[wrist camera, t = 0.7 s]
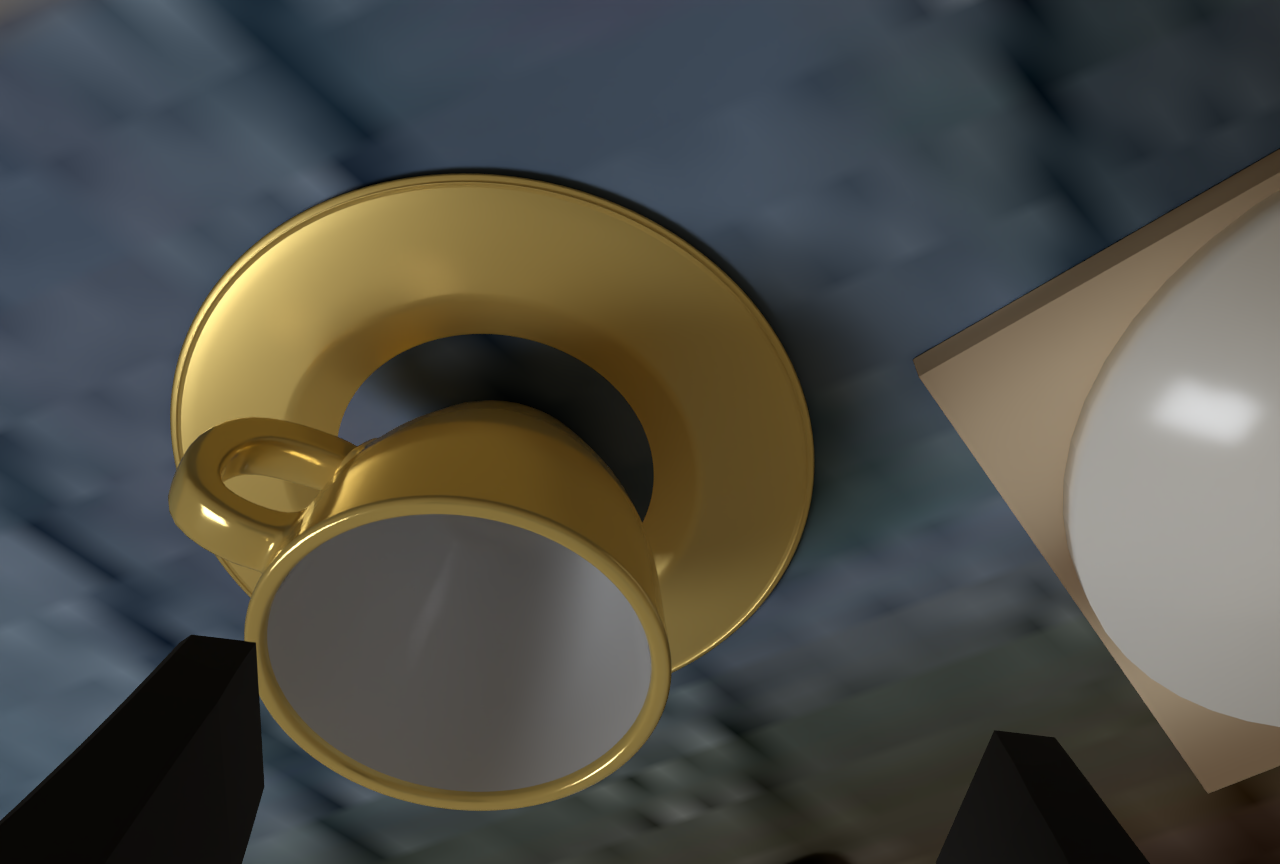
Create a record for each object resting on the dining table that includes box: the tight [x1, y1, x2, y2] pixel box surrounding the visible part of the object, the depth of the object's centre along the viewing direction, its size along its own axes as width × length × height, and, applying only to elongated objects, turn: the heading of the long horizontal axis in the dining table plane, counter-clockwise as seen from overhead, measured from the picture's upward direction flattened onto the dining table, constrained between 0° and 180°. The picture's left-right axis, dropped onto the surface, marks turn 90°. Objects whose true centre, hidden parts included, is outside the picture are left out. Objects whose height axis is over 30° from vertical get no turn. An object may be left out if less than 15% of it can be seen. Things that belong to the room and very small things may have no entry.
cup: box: [168, 173, 814, 811], centre depth 20 cm, size 12×12×5 cm
